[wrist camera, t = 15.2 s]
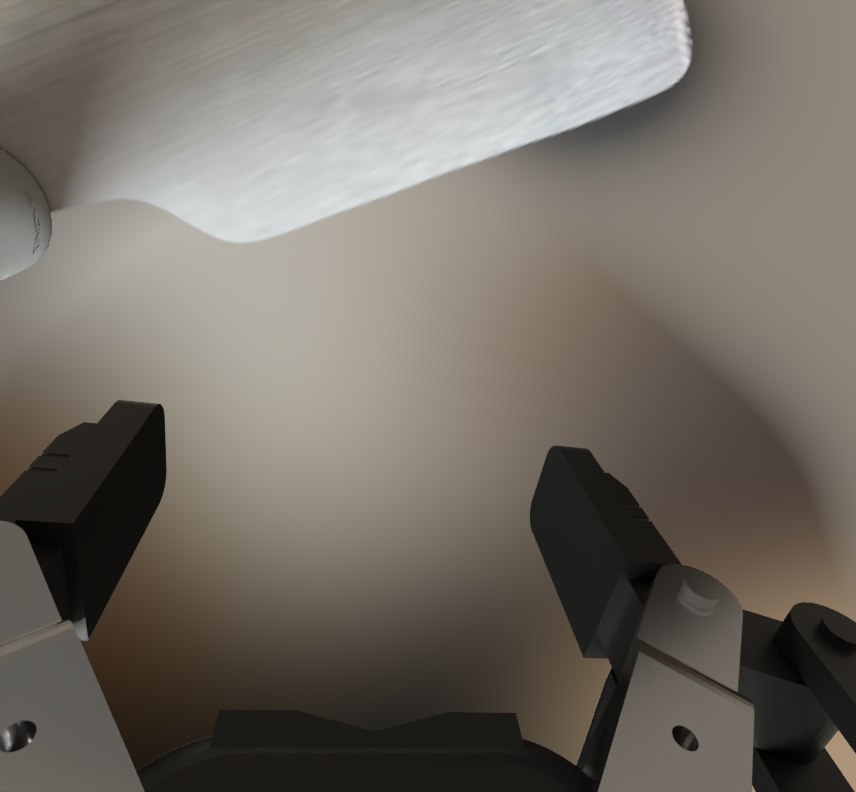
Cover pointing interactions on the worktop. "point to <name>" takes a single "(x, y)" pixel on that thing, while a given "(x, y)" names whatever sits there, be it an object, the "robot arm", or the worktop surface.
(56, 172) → the worktop surface
